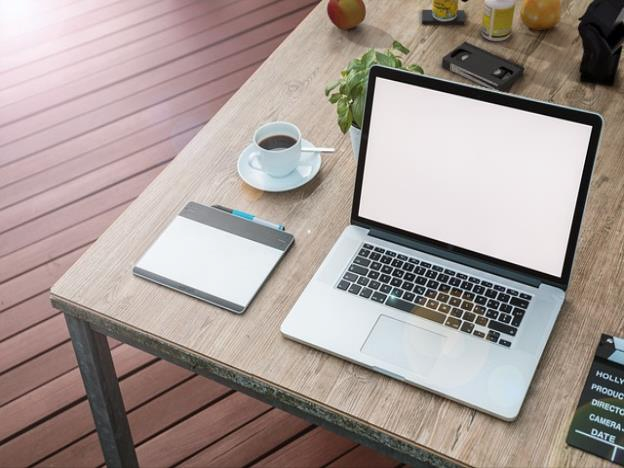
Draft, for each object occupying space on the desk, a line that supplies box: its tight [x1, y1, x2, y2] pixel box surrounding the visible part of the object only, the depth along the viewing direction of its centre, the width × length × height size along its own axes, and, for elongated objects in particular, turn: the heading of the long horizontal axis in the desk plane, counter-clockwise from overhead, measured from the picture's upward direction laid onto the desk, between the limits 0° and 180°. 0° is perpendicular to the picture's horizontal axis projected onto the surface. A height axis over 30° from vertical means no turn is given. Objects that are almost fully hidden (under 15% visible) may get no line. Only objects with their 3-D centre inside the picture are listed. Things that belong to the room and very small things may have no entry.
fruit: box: [519, 0, 562, 31], centre depth 176 cm, size 8×8×8 cm
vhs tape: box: [441, 41, 525, 92], centre depth 167 cm, size 14×8×2 cm, turn 47°
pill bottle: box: [480, 0, 516, 42], centre depth 173 cm, size 6×6×11 cm
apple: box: [326, 0, 367, 31], centre depth 178 cm, size 8×8×8 cm
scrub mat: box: [421, 9, 466, 26], centre depth 182 cm, size 9×5×1 cm, turn 84°
